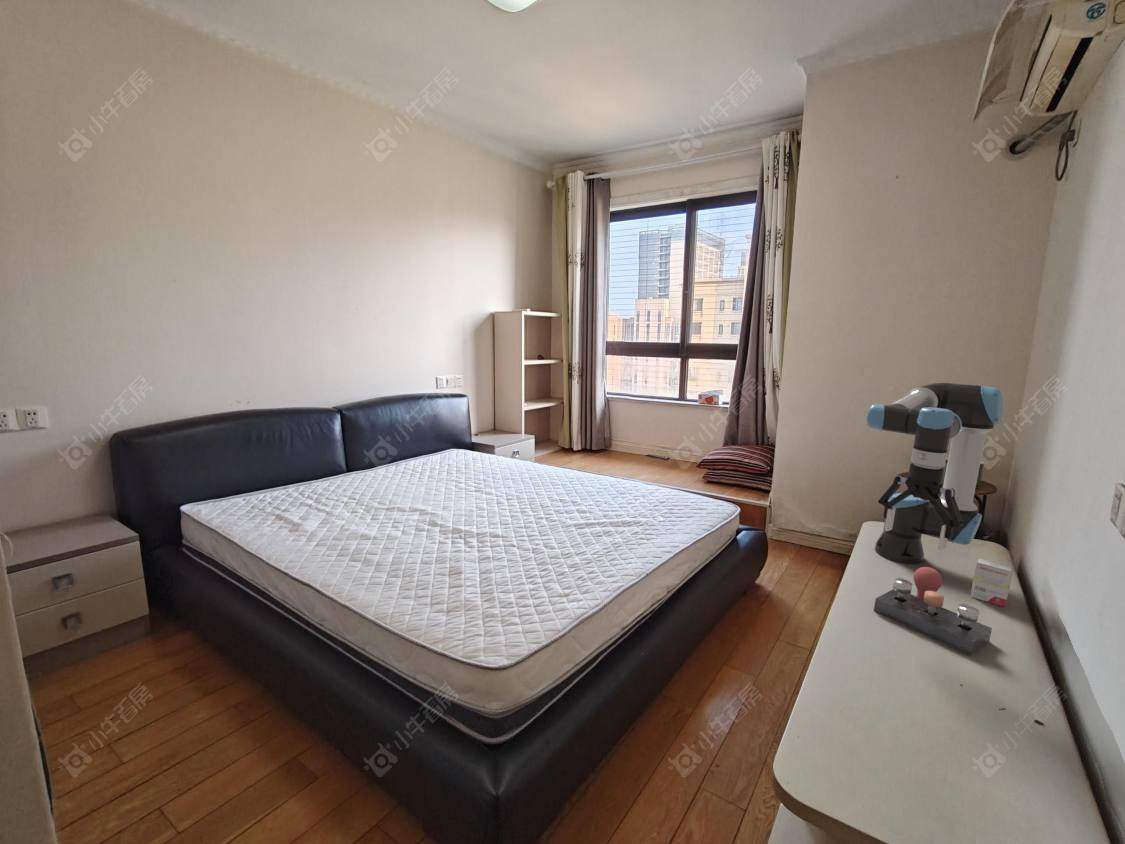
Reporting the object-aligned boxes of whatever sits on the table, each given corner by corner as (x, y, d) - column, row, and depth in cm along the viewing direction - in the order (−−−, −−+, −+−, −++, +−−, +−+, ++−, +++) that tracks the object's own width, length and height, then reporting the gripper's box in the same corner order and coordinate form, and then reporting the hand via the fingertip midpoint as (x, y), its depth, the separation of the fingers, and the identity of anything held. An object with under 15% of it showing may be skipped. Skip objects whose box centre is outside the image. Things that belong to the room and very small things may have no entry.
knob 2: (925, 608, 146) (929, 589, 145) (943, 615, 142) (947, 596, 141) (918, 612, 144) (921, 593, 142) (936, 620, 140) (939, 600, 139)
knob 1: (895, 595, 152) (898, 577, 151) (911, 602, 149) (915, 583, 148) (888, 599, 150) (891, 580, 149) (904, 606, 147) (907, 587, 145)
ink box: (1006, 601, 157) (1014, 566, 155) (1005, 607, 154) (1013, 571, 152) (971, 591, 163) (978, 557, 161) (969, 596, 160) (976, 562, 157)
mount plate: (893, 599, 157) (895, 587, 156) (989, 641, 137) (992, 628, 136) (873, 610, 150) (875, 598, 150) (970, 656, 131) (973, 642, 130)
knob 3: (958, 622, 139) (962, 602, 138) (977, 630, 136) (982, 610, 134) (951, 627, 137) (955, 607, 136) (970, 635, 133) (975, 615, 132)
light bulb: (942, 612, 150) (949, 575, 148) (915, 609, 152) (922, 572, 149) (930, 600, 157) (937, 564, 155) (904, 597, 158) (911, 561, 156)
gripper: (872, 455, 145) (861, 525, 149) (976, 479, 124) (960, 560, 128) (886, 452, 149) (875, 521, 153) (989, 476, 128) (973, 554, 132)
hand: (913, 539), depth 141 cm, fingers open, 13 cm apart
